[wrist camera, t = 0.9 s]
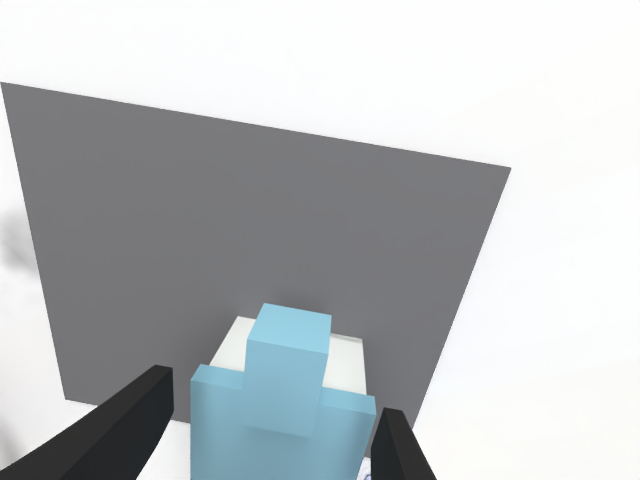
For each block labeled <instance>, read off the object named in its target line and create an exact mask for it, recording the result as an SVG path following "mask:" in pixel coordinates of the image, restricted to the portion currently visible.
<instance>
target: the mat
mask: <svg viewBox="0 0 640 480" xmlns="http://www.w3.org/2000/svg"><path fill="white" fill-rule="evenodd" d="M0 83H1V88H2V93H3V98H4V103H5V108H6V113H7V118H8V123H9V127H10V132H11V137H12V142H13V147H14V152H15V157H16V162H17V166H18V171H19V176H20V181H21V186H22V191H23V196H24V201H25V206H26V210H27V215H28V220H29V225H30V230H31V235H32V240H33V245H34V249H35V254H36V259H37V264H38V269H39V274H40V279H41V284H42V289H43V293H44V298H45V303H46V308H47V313H48V318H49V323H50V328H51V332H52V337H53V342H54V347H55V352H56V357H57V362H58V367H59V372H60V376H61V381H62V386H63V391H64V396H65V399H66V400H71V401H77V402H82V403H87V404H92V405H98V406H99V405H101V404H102V403H103V402H105V401H106V400H108V399H109V398H110V397H112V396H113V395H114V394H116V393H117V392H119V391H120V390H121V389H123V388H124V387H125V386H127V385H128V384H129V383H131V382H132V381H133V380H135V379H136V378H137V377H139V376H140V375H141V374H143V373H144V372H145V371H147V370H148V369H149V368H151V367H152V366H154V365H155V364H156V365H161V366H166V367H172V368H173V393H174V412H173V415H172V417H171V419H170V420H176V421H181V422H186V423H191V378H192V377H193V375H194V374H195V372H196V370H197V369H198V367H199V366H200V364H204V365H210V363H211V361H212V359H213V358H214V356H215V354H216V353H217V351H218V349H219V347H220V346H221V344H222V342H223V341H224V339H225V337H226V336H227V334H228V332H229V330H230V329H231V327H232V325H233V324H234V322H235V320H236V318H237V317H238V316H240V317H245V318H250V319H257V317H258V315H259V313H260V311H261V308H262V306H263V304H264V303H267V304H273V305H278V306H284V307H289V308H295V309H300V310H306V311H311V312H317V313H322V314H328V315H332V317H331V330H330V333H332V334H338V335H343V336H349V337H354V338H360V339H362V344H363V356H364V368H365V381H366V393H367V395H370V396H374V397H375V406H376V418H375V421H374V425H373V428H372V431H371V434H370V438H369V441H368V444H367V447H366V450H365V454H364V457H368V458H371V445H372V442H373V439H374V436H375V433H376V430H377V427H378V424H379V420H380V417H381V414H382V411H383V408H384V407H386V408H392V409H397V410H402V411H403V413H404V414H405V416H406V418H407V421H408V423H409V425H410V427H411V429H412V428H413V426H414V423H415V421H416V418H417V415H418V413H419V410H420V407H421V405H422V402H423V400H424V397H425V394H426V392H427V389H428V386H429V384H430V381H431V378H432V376H433V373H434V371H435V368H436V365H437V363H438V360H439V357H440V355H441V352H442V350H443V347H444V344H445V342H446V339H447V336H448V334H449V331H450V329H451V326H452V323H453V321H454V318H455V315H456V313H457V310H458V307H459V305H460V302H461V300H462V297H463V294H464V292H465V289H466V286H467V284H468V281H469V279H470V276H471V273H472V271H473V268H474V265H475V263H476V260H477V258H478V255H479V252H480V250H481V247H482V244H483V242H484V239H485V236H486V234H487V231H488V229H489V226H490V223H491V221H492V218H493V215H494V213H495V210H496V208H497V205H498V202H499V200H500V197H501V194H502V192H503V189H504V187H505V184H506V181H507V179H508V176H509V173H510V171H511V168H510V167H504V166H498V165H492V164H486V163H480V162H474V161H468V160H462V159H456V158H450V157H444V156H439V155H433V154H427V153H421V152H415V151H409V150H403V149H397V148H391V147H385V146H379V145H373V144H367V143H361V142H355V141H349V140H343V139H337V138H331V137H326V136H320V135H314V134H308V133H302V132H296V131H290V130H284V129H278V128H272V127H266V126H260V125H254V124H248V123H242V122H236V121H230V120H224V119H219V118H213V117H207V116H201V115H195V114H189V113H183V112H177V111H171V110H165V109H159V108H153V107H147V106H141V105H135V104H129V103H123V102H117V101H111V100H106V99H100V98H94V97H88V96H82V95H76V94H70V93H64V92H58V91H52V90H46V89H40V88H34V87H28V86H22V85H16V84H10V83H4V82H0Z"/></svg>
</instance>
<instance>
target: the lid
mask: <svg viewBox="0 0 640 480" xmlns="http://www.w3.org/2000/svg"><path fill="white" fill-rule="evenodd" d="M331 317H332V315H328V314H322V313H317V312H311V311H306V310H300V309H295V308H289V307H284V306H278V305H273V304H267V303H264V304H263V306H262V308H261V311H260V313H259V315H258V317H257V319H256V321H255V323H254V325H253V327H252V329H251V331H250V334H249V336H248V338H247V344H246V356H245V368H244V372H242V371H236V370H231V369H226V368H220V367H215V366H210V365H204V364H200V366H199V367H198V369H197V370H196V372H195V374H194V375H193V377H192V378H191V480H356V479H357V476H358V473H359V470H360V466H361V463H362V460H363V457H364V454H365V450H366V447H367V444H368V441H369V438H370V434H371V431H372V428H373V425H374V421H375V418H376V406H375V397H374V396H370V395H364V394H359V393H354V392H348V391H343V390H338V389H332V388H327V387H322V383H323V379H324V374H325V369H326V364H327V360H328V355H329V343H330V330H331Z"/></svg>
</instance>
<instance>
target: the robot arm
mask: <svg viewBox="0 0 640 480" xmlns="http://www.w3.org/2000/svg"><path fill="white" fill-rule="evenodd" d="M173 412H174V393H173V368H172V367H166V366H161V365H156V364H155V365H154V366H152V367H151V368H149V369H148V370H147V371H145V372H144V373H143V374H141V375H140V376H139V377H137V378H136V379H135V380H133V381H132V382H131V383H129V384H128V385H127V386H125V387H124V388H123V389H121V390H120V391H119V392H117V393H116V394H114V395H113V396H112V397H110V398H109V399H108V400H106V401H105V402H103V403H102V404H101V405H99V406H98V407H97V408H95V409H94V410H92V411H91V412H90V413H88V414H87V415H85V416H84V417H83V418H81V419H80V420H78V421H77V422H75V423H74V424H72V425H71V426H70V427H68V428H67V429H65V430H64V431H62V432H61V433H59V434H58V435H56V436H55V437H53V438H52V439H50V440H49V441H47V442H46V443H44V444H43V445H41V446H40V447H38V448H37V449H35V450H33V451H32V452H30V453H29V454H27V455H26V456H24V457H22V458H21V459H19V460H18V461H16V462H14V463H13V464H11V465H10V466H8V467H6V468H5V469H3V470H1V471H0V480H136V479H137V477H138V475H139V474H140V472H141V471H142V469H143V467H144V466H145V464H146V463H147V461H148V459H149V458H150V456H151V455H152V453H153V451H154V450H155V448H156V446H157V445H158V443H159V441H160V439H161V437H162V435H163V433H164V431H165V429H166V427H167V425H168V423H169V421H170V419H171V417H172V415H173ZM366 480H437V479H436V477H435V475H434V473H433V472H432V470H431V468H430V466H429V464H428V462H427V460H426V458H425V456H424V454H423V452H422V450H421V448H420V446H419V444H418V442H417V440H416V438H415V436H414V433H413V431H412V429H411V427H410V425H409V423H408V421H407V418H406V416H405V414H404V413H403V411H402V410H397V409H392V408H386V407H384V408H383V411H382V414H381V417H380V420H379V424H378V427H377V430H376V433H375V436H374V439H373V442H372V445H371V476H368V477H367V478H366Z"/></svg>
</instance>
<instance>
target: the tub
mask: <svg viewBox="0 0 640 480" xmlns="http://www.w3.org/2000/svg"><path fill="white" fill-rule="evenodd" d="M255 321H256V319H250V318H245V317H240V316H238V317H237V318H236V320H235V322H234V324H233V325H232V327H231V329H230V330H229V332H228V334H227V336H226V337H225V339H224V341H223V342H222V344H221V346H220V347H219V349H218V351H217V353H216V354H215V356H214V358H213V359H212V361H211V363H210V366H215V367H220V368H226V369H231V370H236V371H242V372H244V368H245V356H246V344H247V338H248V336H249V334H250V331H251V329H252V327H253V325H254V323H255ZM322 387H327V388H332V389H338V390H343V391H348V392H354V393H359V394H364V395H367V393H366V381H365V368H364V356H363V344H362V339H360V338H354V337H349V336H343V335H338V334H332V333H330V343H329V355H328V360H327V364H326V369H325V374H324V379H323V383H322Z"/></svg>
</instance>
